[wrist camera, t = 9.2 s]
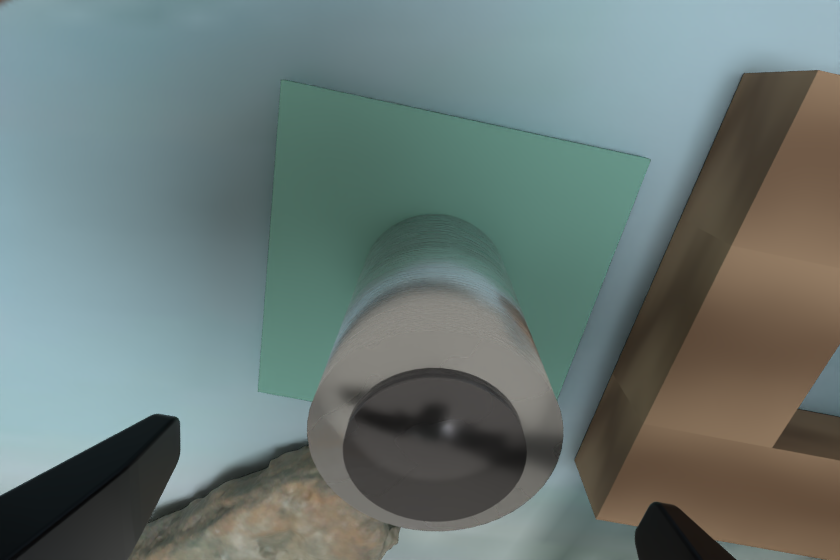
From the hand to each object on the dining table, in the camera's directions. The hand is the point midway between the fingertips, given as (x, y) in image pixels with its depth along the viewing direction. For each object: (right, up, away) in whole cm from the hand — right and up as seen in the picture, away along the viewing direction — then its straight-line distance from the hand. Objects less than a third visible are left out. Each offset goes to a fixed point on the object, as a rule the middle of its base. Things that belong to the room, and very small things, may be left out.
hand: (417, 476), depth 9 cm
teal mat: (0, +4, +9) cm, 9 cm away
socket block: (+16, +1, +9) cm, 19 cm away
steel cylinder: (+1, +4, +8) cm, 9 cm away
